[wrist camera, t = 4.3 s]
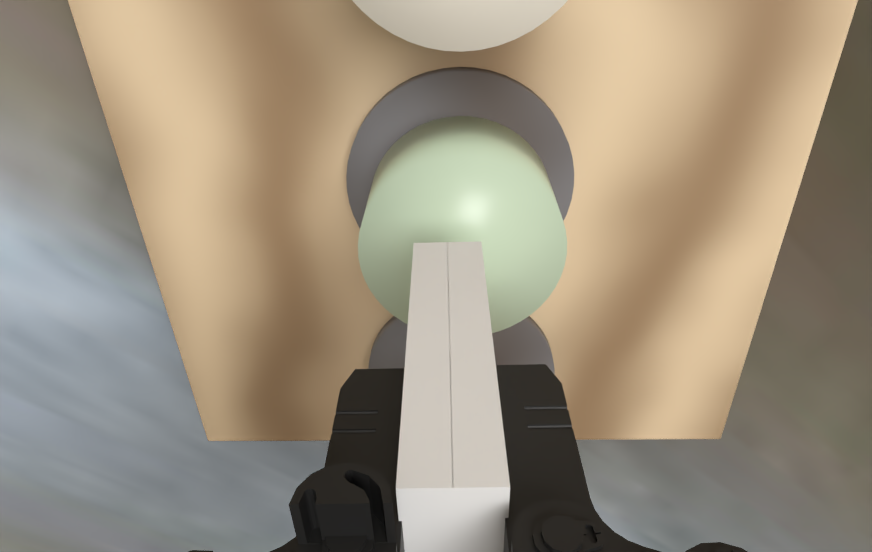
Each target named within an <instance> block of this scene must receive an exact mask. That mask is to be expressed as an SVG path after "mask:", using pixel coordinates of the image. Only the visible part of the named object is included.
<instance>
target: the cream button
mask: <svg viewBox="0 0 872 552" xmlns="http://www.w3.org/2000/svg"><path fill="white" fill-rule="evenodd" d="M352 1H353V2H354V3H355V4H356V5H357V6H358V7H359V8H360V9H361V11H363V12H364V13H365V14H366V15H367V16H368V17H370V18H371V19H372V20H373V21H374V22H375V23H377V24H378V25H380V26H381V27H383V28H384V29H386V30H387V31H389V32H390V33H392V34H394V35H396V36H398V37H400V38H402V39H404V40H406V41H408V42H411V43H414V44H417V45H420V46H423V47H426V48H431V49H437V50H442V51H458V52H464V51H475V50H482V49H487V48H491V47H495V46H499V45H502V44H504V43H507V42H510V41H512V40H515V39H517V38H519V37H521V36H523V35H525V34H526V33H528V32H530V31H532V30H534V29H535V28H536V27H538V26H539V25H541V24H542V23H543V22H545V21H546V20H548V19H549V18H550V17H551V16H552V15H553V14H554V13H556V12H557V11H558V10H559V9H560V8H561V7H562V6H563V5H564V4H565V3H566V2H567V1H568V0H352Z"/></svg>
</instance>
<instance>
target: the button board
mask: <svg viewBox="0 0 872 552" xmlns="http://www.w3.org/2000/svg"><path fill="white" fill-rule="evenodd" d="M857 1H858V0H568V1H567V2H566V3H565V4H564V5H563V6H562V7H561V8H560V9H559V10H558V11H557V12H556V13H554V14H553V15H552V16H551V17H550V18H549V19H548V20H546V21H545V22H543V23H542V24H541V25H539V26H538V27H536V28H535V29H534V30H532V31H530V32H528V33H526V34H525V35H523V36H521V37H519V38H517V39H515V40H512V41H510V42H507V43H504V44H502V45H499V46H495V47H491V48H487V49H482V50H475V51H464V52H458V51H442V50H437V49H431V48H426V47H423V46H420V45H417V44H414V43H411V42H408V41H406V40H404V39H402V38H400V37H398V36H396V35H394V34H392V33H390V32H389V31H387V30H386V29H384V28H383V27H381V26H380V25H378V24H377V23H375V22H374V21H373V20H372V19H371V18H370V17H368V16H367V15H366V14H365V13H364V12H363V11H361V9H360V8H359V7H358V6H357V5H356V4H355V3H354V2H353V1H352V0H68V2H69V5H70V8H71V12H72V15H73V18H74V21H75V24H76V27H77V30H78V34H79V37H80V40H81V43H82V46H83V49H84V52H85V55H86V59H87V62H88V65H89V68H90V71H91V74H92V77H93V81H94V84H95V87H96V90H97V93H98V96H99V99H100V103H101V106H102V109H103V112H104V115H105V118H106V121H107V125H108V128H109V131H110V134H111V137H112V140H113V143H114V147H115V150H116V153H117V156H118V159H119V162H120V165H121V169H122V172H123V175H124V178H125V181H126V184H127V187H128V191H129V194H130V197H131V200H132V203H133V206H134V209H135V212H136V216H137V219H138V222H139V225H140V228H141V231H142V234H143V238H144V241H145V244H146V247H147V250H148V253H149V256H150V260H151V263H152V266H153V269H154V272H155V275H156V278H157V282H158V285H159V288H160V291H161V294H162V297H163V300H164V304H165V307H166V310H167V313H168V316H169V319H170V322H171V326H172V329H173V332H174V335H175V338H176V341H177V344H178V348H179V351H180V354H181V357H182V360H183V363H184V366H185V369H186V373H187V376H188V379H189V382H190V385H191V388H192V391H193V395H194V398H195V401H196V404H197V407H198V410H199V413H200V417H201V420H202V423H203V426H204V429H205V432H206V435H207V439H208V441H312V440H330V437H331V434H332V427H333V422H334V417H335V415H336V407H337V402H338V397H339V392H340V388H341V387H342V386H343V384H344V383H345V382H346V380H347V379H348V378H349V376H350V375H351V374H352V373H353V371H354V370H355V369H390V368H405V354H406V341H407V327H408V324H406V323H404V322H402V321H401V320H399V319H398V318H396V317H395V316H393V315H392V314H391V313H390V312H389V311H388V310H386V309H385V308H384V307H383V306H382V305H381V304H380V303H379V301H378V300H377V299H376V298H375V296H374V295H373V294H372V292H371V291H370V289H369V287H368V285H367V283H366V281H365V279H364V277H363V274H362V271H361V268H360V263H359V258H358V239H359V231H360V228H361V224H362V220H363V216H364V212H365V209H366V205H367V201H368V197H369V194H370V190H371V186H372V182H373V179H374V175H375V172H376V170H377V168H378V166H379V163H380V162H381V160H382V158H383V157H384V155H385V154H386V152H387V151H388V150H389V149H390V148H391V146H392V145H393V144H394V143H395V142H396V141H397V140H399V139H400V138H401V137H402V136H403V135H405V134H406V133H408V132H409V131H411V130H412V129H414V128H416V127H418V126H420V125H422V124H424V123H427V122H430V121H433V120H436V119H440V118H445V117H454V116H471V117H478V118H484V119H487V120H491V121H494V122H497V123H499V124H501V125H503V126H505V127H508V128H509V129H511V130H512V131H514V132H516V133H517V134H519V135H520V136H521V137H522V138H523V139H524V140H526V141H527V142H528V143H529V144H530V146H531V147H532V148H533V149H534V150H535V151H536V153H537V155H538V156H539V158H540V159H541V161H542V163H543V165H544V167H545V170H546V172H547V175H548V178H549V181H550V184H551V186H552V189H553V192H554V195H555V198H556V201H557V204H558V207H559V210H560V213H561V215H562V219H563V222H564V225H565V229H566V236H567V255H566V261H565V266H564V269H563V272H562V275H561V277H560V279H559V281H558V283H557V285H556V287H555V289H554V290H553V292H552V293H551V295H550V296H549V297H548V299H547V300H546V301H545V302H544V303H543V304H542V305H541V306H540V307H539V308H538V309H537V310H536V311H535V312H533V313H532V314H531V315H530V316H528V317H527V318H525V319H524V320H522V321H521V322H519V323H517V324H515V325H513V326H511V327H509V328H506V329H504V330H501V331H498V332H495V333H492V337H493V345H494V354H495V362H496V365H527V364H546V365H547V366H548V367H549V369H550V370H551V371H552V372H553V373H554V375H555V376H556V377H557V378H558V379H559V381H560V382H561V383H562V386H563V390H564V394H565V398H566V402H567V410H568V411H569V415H570V419H571V423H572V429H573V431H574V435H575V439H721V435H722V432H723V429H724V426H725V423H726V419H727V416H728V413H729V410H730V407H731V404H732V400H733V397H734V394H735V391H736V388H737V384H738V381H739V378H740V375H741V372H742V368H743V365H744V362H745V359H746V356H747V352H748V349H749V346H750V343H751V340H752V336H753V333H754V330H755V327H756V324H757V320H758V317H759V314H760V311H761V308H762V305H763V301H764V298H765V295H766V292H767V289H768V285H769V282H770V279H771V276H772V273H773V269H774V266H775V263H776V260H777V257H778V253H779V250H780V247H781V244H782V241H783V237H784V234H785V231H786V228H787V225H788V221H789V218H790V215H791V212H792V209H793V206H794V202H795V199H796V196H797V193H798V190H799V186H800V183H801V180H802V177H803V174H804V170H805V167H806V164H807V161H808V158H809V154H810V151H811V148H812V145H813V142H814V138H815V135H816V132H817V129H818V126H819V122H820V119H821V116H822V113H823V110H824V107H825V103H826V100H827V97H828V94H829V91H830V87H831V84H832V81H833V78H834V75H835V71H836V68H837V65H838V62H839V59H840V55H841V52H842V49H843V46H844V43H845V39H846V36H847V33H848V30H849V27H850V23H851V20H852V17H853V14H854V11H855V8H856V4H857Z"/></svg>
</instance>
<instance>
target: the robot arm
mask: <svg viewBox="0 0 872 552" xmlns="http://www.w3.org/2000/svg"><path fill="white" fill-rule="evenodd" d="M289 507H290V511H291V515H292V520H293V524H294V528H295V532H296V537H295V538H294V539H292V540H291V541H289V542H288V543H286V544H285V545H283V546H282V547H280V548H277V549H275V550H273V551H270V552H660V551H657V550H653V549H650V548H646V547H643V546H641V545H638V544H635V543H633V542H630V541H628V540H626V539H625V538H623V537H622V536H620V535H618V534H617V533H615V532H614V531H613V530H612V529H611V528H609V527H608V526H607V525H606V524H605V523H604V522H603V521H602V519H601V518H600V517H599V515H598V514H597V512H596V511H595V509H594V507H593V504H592V502H591V499H590V496H589V492H588V488H587V484H586V480H585V476H584V471H583V467H582V463H581V459H580V455H579V451H578V447H577V443H576V439H575V435H574V431H573V429H572V423H571V419H570V415H569V411H568V410H567V402H566V398H565V394H564V390H563V386H562V383H561V382H560V381H559V379H558V378H557V377H556V376H555V375H554V373H553V372H552V371H551V370H550V369H549V367H548V366H547V365H546V364H527V365H496V362H495V354H494V345H493V337H492V328H491V320H490V311H489V303H488V294H487V286H486V277H485V269H484V260H483V252H482V243H481V241H480V242H432V243H414V245H413V259H412V272H411V286H410V300H409V313H408V327H407V341H406V354H405V368H390V369H355V370H354V371H353V373H352V374H351V375H350V376H349V378H348V379H347V380H346V382H345V383H344V384H343V386H342V387H341V388H340V392H339V397H338V402H337V407H336V415H335V417H334V422H333V427H332V434H331V437H330V442H329V447H328V453H327V458H326V463H325V468H323V469H321V470H319V471H317V472H315V473H313V474H311V475H310V476H309V477H308V478H306V479H305V480H304V481H303V482H302V483H301V484H300V485H299V486H298V487H297V488H296V491H295V493H294V495H293V497H292V499H291V501H290V503H289ZM189 552H213V551H197V550H192V551H189ZM686 552H747V551H745V550H744V549H742V548H739V547H735V546H732V545H728V544H724V543H721V542H718V543H701V544H699V545H697V546H695V547H693V548H691V549H689V550H687V551H686Z"/></svg>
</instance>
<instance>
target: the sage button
mask: <svg viewBox="0 0 872 552" xmlns="http://www.w3.org/2000/svg"><path fill="white" fill-rule="evenodd" d="M480 241H481V243H482V252H483V260H484V269H485V277H486V286H487V294H488V303H489V311H490V320H491V328H492V333H495V332H498V331H501V330H504V329H506V328H509V327H511V326H513V325H515V324H517V323H519V322H521V321H522V320H524V319H525V318H527V317H528V316H530V315H531V314H532V313H533V312H535V311H536V310H537V309H538V308H539V307H540V306H541V305H542V304H543V303H544V302H545V301H546V300H547V299H548V297H549V296H550V295H551V293H552V292H553V290H554V289H555V287H556V285H557V283H558V281H559V279H560V277H561V275H562V272H563V269H564V266H565V261H566V255H567V236H566V229H565V225H564V222H563V219H562V215H561V213H560V210H559V207H558V204H557V201H556V198H555V195H554V192H553V189H552V186H551V184H550V181H549V178H548V175H547V172H546V170H545V167H544V165H543V163H542V161H541V159H540V158H539V156H538V155H537V153H536V151H535V150H534V149H533V148H532V147H531V146H530V144H529V143H528V142H527V141H526V140H524V139H523V138H522V137H521V136H520V135H519V134H517V133H516V132H514V131H512V130H511V129H509V128H508V127H505V126H503V125H501V124H499V123H497V122H494V121H491V120H487V119H484V118H478V117H471V116H454V117H445V118H440V119H436V120H433V121H430V122H427V123H424V124H422V125H420V126H418V127H416V128H414V129H412V130H411V131H409V132H408V133H406V134H405V135H403V136H402V137H401V138H400V139H399V140H397V141H396V142H395V143H394V144H393V145H392V146H391V148H390V149H389V150H388V151H387V152H386V154H385V155H384V157H383V158H382V160H381V162H380V163H379V166H378V168H377V170H376V172H375V175H374V179H373V182H372V186H371V190H370V194H369V197H368V201H367V205H366V209H365V212H364V216H363V220H362V224H361V228H360V231H359V239H358V258H359V263H360V268H361V271H362V274H363V277H364V279H365V281H366V283H367V285H368V287H369V289H370V291H371V292H372V294H373V295H374V296H375V298H376V299H377V300H378V301H379V303H380V304H381V305H382V306H383V307H384V308H385V309H386V310H388V311H389V312H390V313H391V314H392V315H393V316H395V317H396V318H398V319H399V320H401V321H402V322H404V323H406V324H408V313H409V300H410V286H411V272H412V259H413V245H414V243H432V242H480Z"/></svg>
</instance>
